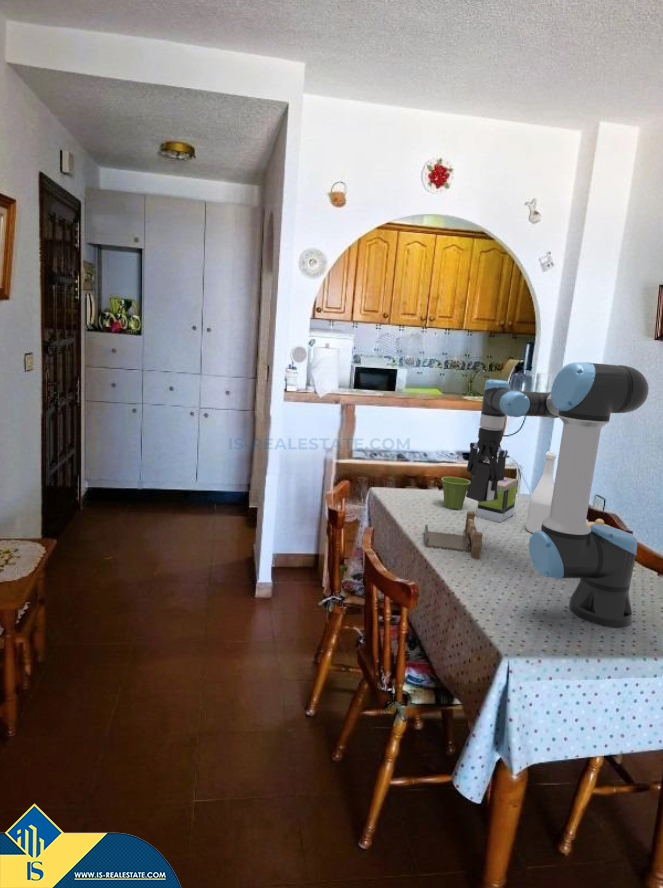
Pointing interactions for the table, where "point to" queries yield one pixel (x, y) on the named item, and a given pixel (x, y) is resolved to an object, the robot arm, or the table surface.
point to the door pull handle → (473, 536)
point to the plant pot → (454, 491)
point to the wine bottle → (542, 496)
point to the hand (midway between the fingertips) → (481, 496)
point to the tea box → (500, 502)
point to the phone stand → (480, 483)
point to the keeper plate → (447, 540)
